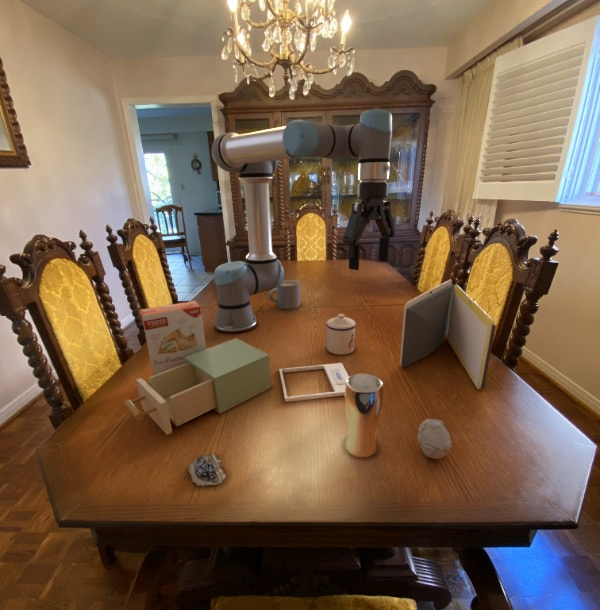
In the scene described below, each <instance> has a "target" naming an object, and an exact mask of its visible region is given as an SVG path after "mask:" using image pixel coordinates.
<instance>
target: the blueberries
mask: <svg viewBox="0 0 600 610" xmlns="http://www.w3.org/2000/svg"><path fill="white" fill-rule="evenodd" d="M219 457H220V456H219V455H217V454H208V455H207V454H206V455H205V454H201V455H199V456H198V457H196V458H195V459H194V462H190V463H188V465H187V466H188V473H189V475H190V478H191V481H192V483H194V484H196V487H198V486H199V487H205V486H207V487H208V486H218V485H220V484H223V481H224V480H225V479H226V478H225V477H226V473H224V469H222V468H221V467H222V466H223V464H221V462H222V461H221V459H220V458H219Z"/></svg>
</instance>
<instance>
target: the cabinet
mask: <svg viewBox="0 0 600 610" xmlns="http://www.w3.org/2000/svg"><path fill="white" fill-rule="evenodd" d="M184 358H185V363H188V362H189V363H190V364H191V365H193V366H194V367H196V368H197V369H199V370H200V371H201V372H203V373H204V374H206V375H207V376H209V377H210V378H211V379H213V380H214V388H215V395H216V402H217V407H215V408H213V409H212V410H214V412H216V413H218V414H222V413H225V412H227V411H228V410H230V409H232V408H233V407H236V406H238V405H240V404H243V402H246V401H247V400H250V399H251V398H254V397H255V396H257V395H260V394H262V393H264V392H266V391H268V390H269V389H271V388H272V377H271V375H272V373H271V361H270V360H271V359H270V354H269V353H267V352H265V351H263V350H262V349H259V348H258V347H256V346H253V345H251V344H249V343H247V342H245V341H243V340H241V339H239V338H237V337H235V338H234V339H231V340H227V341H224V342H221V343H220V344H215V345H214V346H211V347H208V348H206V349H205V350H203V351H200V352H197V353H194V354H192V355H189V356H186V357H184Z"/></svg>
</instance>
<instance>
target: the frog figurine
mask: <svg viewBox="0 0 600 610" xmlns="http://www.w3.org/2000/svg"><path fill="white" fill-rule="evenodd" d="M416 439H417V441H418V442H417V443H418V445H419V446H420V449H421V451H422V452H423V454H424V455H425V456H426V457H428V458H430V459H433V460H439V459H442V458H444V457H445V456H447V454H449V453H450V449H452V441H451V435H450V433H449V431H448V429H447V427H446V425H445V423H444V421H442V420H441V419H435V418H434V419H433V418H431V419H430V418H426V419H424V420H423V421H422V422H421V423H420V425H419V427H418V434H417V436H416Z"/></svg>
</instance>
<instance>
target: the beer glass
mask: <svg viewBox="0 0 600 610" xmlns="http://www.w3.org/2000/svg"><path fill="white" fill-rule="evenodd" d="M382 408H383V381H382V380H381V378H380V377H378V376H376V375H374V374H371V373H366V372H360V373H357V372H356V373H354V374H351V375H349V377H348V378H347V380H346V389H345V395H344V413H345V418H346V425H347V435H346V439H345V449H346V451H347V452H348V453H349V454H351V455H352V456H354V457H357V458H369V457H371V456H373V455H374V454H375V453H376V451H377V441H376V431H377V427H378V425H379V421H380V418H381V413H382Z"/></svg>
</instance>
